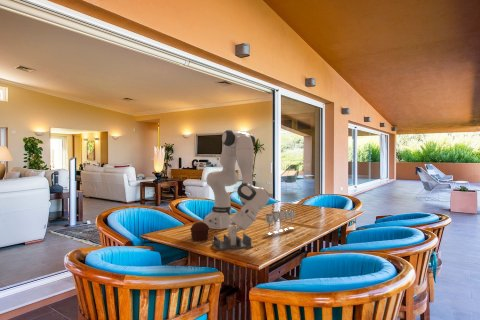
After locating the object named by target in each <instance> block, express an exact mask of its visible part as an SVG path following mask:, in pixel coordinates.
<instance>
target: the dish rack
mask: <svg viewBox="0 0 480 320" xmlns="http://www.w3.org/2000/svg"><path fill="white" fill-rule="evenodd" d="M212 245H213V246H214V247H215V248H216V250H217V251H218V252H219V251H221V252H222V251H228V250H229V251H230V250H240V249H241V250H242V249H252V248H253V245H252V237H251V236H249V235H248V234H246V233H245V232H243V233H242V238H241V237H240V236H238V235H237V234H236V245H231V239H230V238H228V235H227V234H225V233H224V234H223V240H220V238H218V236H216V235H215V234H213V241H212Z"/></svg>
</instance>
